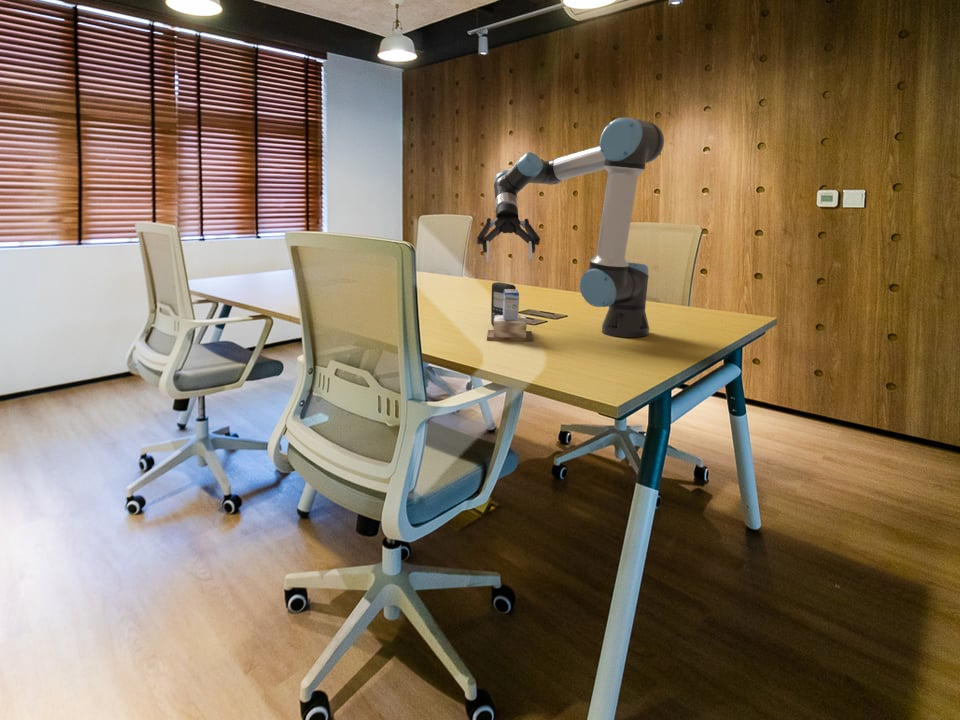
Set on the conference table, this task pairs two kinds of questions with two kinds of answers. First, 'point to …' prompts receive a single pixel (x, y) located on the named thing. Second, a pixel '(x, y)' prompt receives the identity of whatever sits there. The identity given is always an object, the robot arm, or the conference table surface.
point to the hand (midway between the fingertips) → (509, 259)
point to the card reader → (498, 298)
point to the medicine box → (511, 304)
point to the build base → (510, 330)
